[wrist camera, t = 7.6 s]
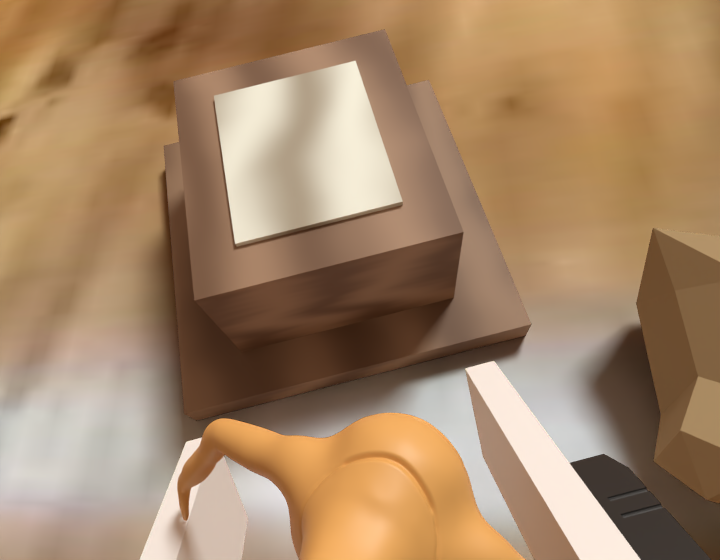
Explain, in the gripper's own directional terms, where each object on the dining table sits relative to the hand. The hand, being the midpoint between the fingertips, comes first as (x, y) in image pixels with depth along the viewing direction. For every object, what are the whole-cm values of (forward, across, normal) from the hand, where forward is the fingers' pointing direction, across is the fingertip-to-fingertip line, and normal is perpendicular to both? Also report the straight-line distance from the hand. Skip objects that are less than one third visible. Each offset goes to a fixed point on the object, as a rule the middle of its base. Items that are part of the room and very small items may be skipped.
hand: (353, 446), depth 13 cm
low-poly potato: (+15, +19, -13) cm, 27 cm away
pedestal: (+27, 0, 0) cm, 27 cm away
